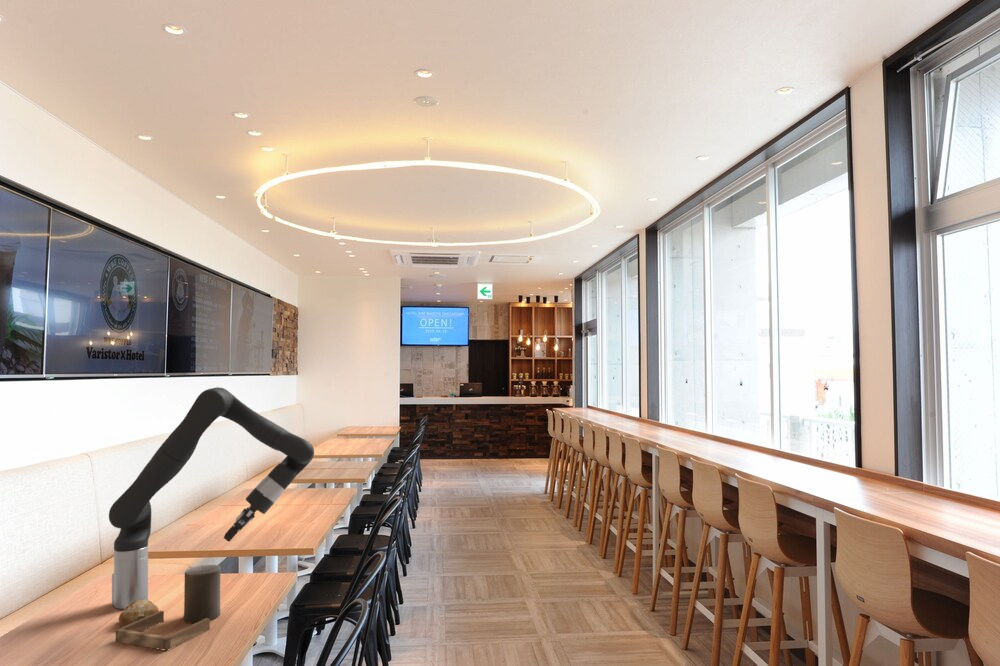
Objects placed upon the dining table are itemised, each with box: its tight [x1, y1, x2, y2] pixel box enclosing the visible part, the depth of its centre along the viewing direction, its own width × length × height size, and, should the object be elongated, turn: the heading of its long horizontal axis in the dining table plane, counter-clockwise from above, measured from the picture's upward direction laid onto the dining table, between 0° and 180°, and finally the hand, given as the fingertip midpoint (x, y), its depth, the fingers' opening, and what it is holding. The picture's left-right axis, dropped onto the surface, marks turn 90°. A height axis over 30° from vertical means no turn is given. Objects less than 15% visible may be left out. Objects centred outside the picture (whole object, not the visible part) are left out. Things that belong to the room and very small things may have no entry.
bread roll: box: [118, 600, 160, 628], centre depth 187 cm, size 10×10×8 cm
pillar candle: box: [183, 564, 221, 624], centre depth 190 cm, size 10×10×15 cm
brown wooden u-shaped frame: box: [115, 610, 211, 651], centre depth 177 cm, size 18×14×3 cm
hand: (226, 538), depth 195 cm, fingers open, 8 cm apart
